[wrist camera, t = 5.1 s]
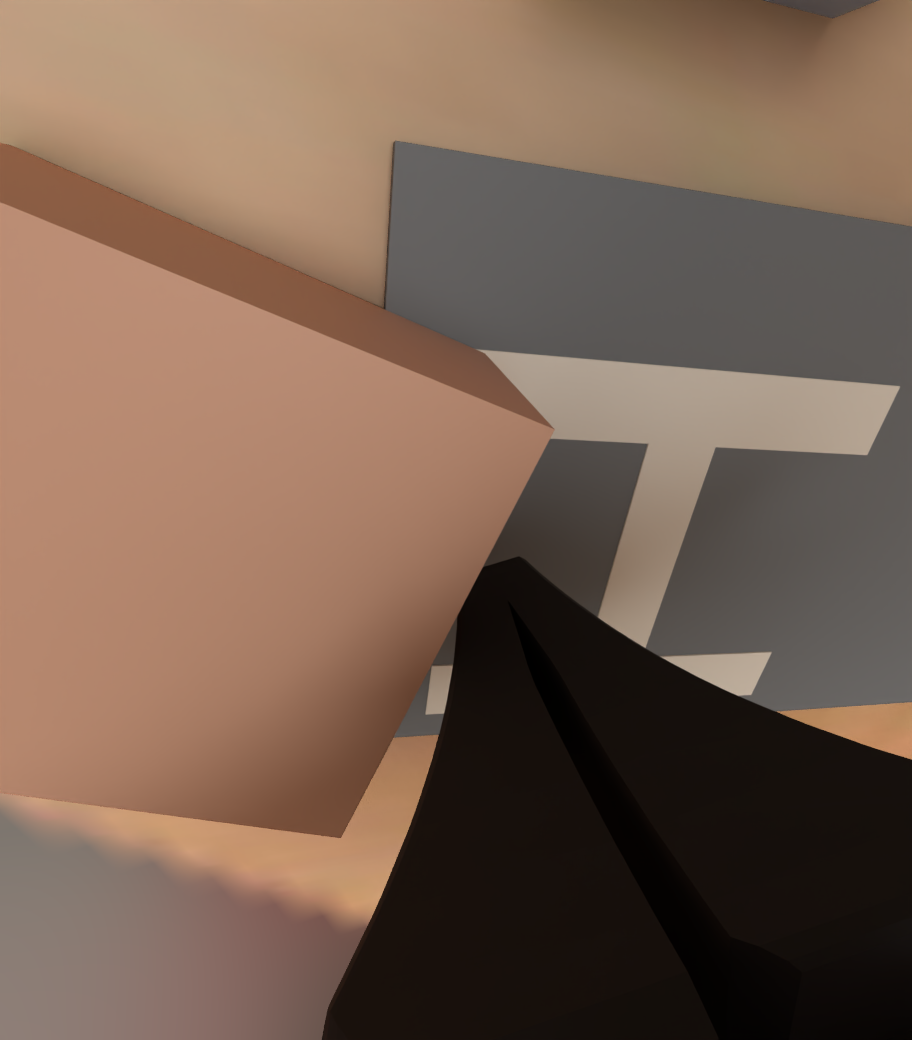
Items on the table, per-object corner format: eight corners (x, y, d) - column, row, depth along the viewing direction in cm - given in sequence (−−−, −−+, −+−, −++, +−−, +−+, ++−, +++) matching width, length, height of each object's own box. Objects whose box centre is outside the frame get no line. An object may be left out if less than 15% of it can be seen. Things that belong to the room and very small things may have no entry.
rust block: (485, 353, 9) (554, 429, 6) (348, 660, 12) (340, 838, 9) (10, 145, 7) (-313, 73, 4) (-32, 572, 10) (-245, 760, 6)
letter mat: (1224, 280, 12) (1246, 282, 12) (941, 692, 18) (951, 700, 17) (393, 142, 8) (395, 140, 8) (360, 729, 14) (360, 741, 13)
